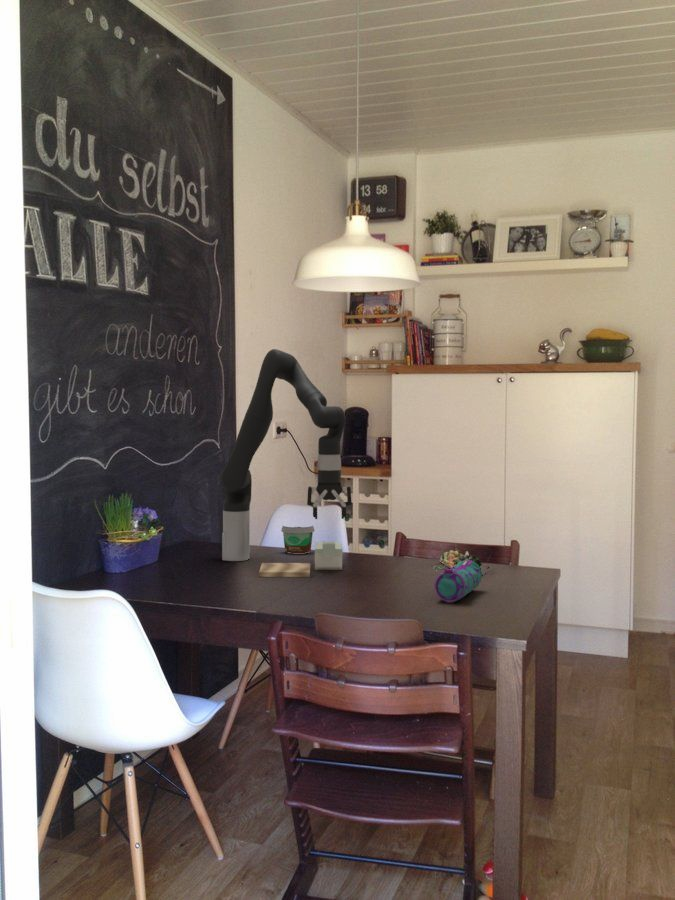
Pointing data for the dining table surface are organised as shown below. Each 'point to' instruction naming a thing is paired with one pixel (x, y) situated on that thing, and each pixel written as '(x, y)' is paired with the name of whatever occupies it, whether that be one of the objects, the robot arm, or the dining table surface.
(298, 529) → the food container
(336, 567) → the tub
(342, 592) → the dining table surface
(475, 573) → the pencil case
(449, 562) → the floral arrangement
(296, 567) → the board
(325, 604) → the dining table surface
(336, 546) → the pale grey block
